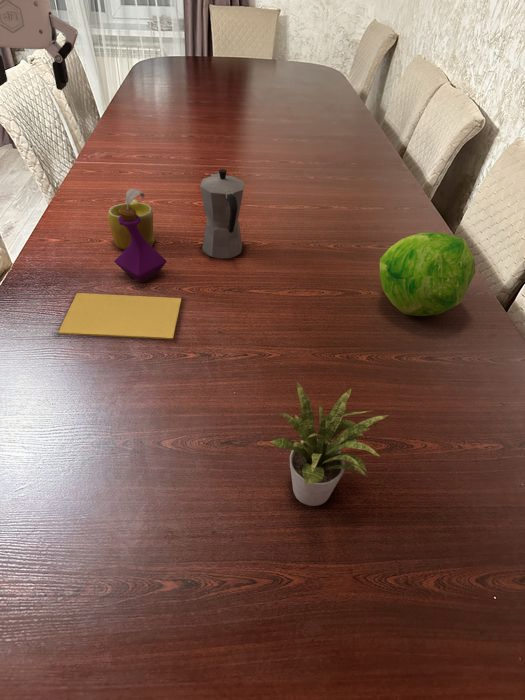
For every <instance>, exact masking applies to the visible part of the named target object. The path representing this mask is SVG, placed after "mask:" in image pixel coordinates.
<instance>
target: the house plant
mask: <svg viewBox="0 0 525 700" xmlns="http://www.w3.org/2000/svg"><path fill="white" fill-rule="evenodd" d="M295 384H296V390H297V396H298V403H299V407H300V414H301V415H300V416H301V417H300V416H298V415H296V414H295V415H294V417H292V416H291V415H289V414H288V413H285V412H282V411H278V413H279V414H280V415H281V416H282V417H283V418H285V419H286V421H287V422H288V424H289V425H290V426H291V427H292V428H293V429H294V430H295V431H296V432H297V434H298V436H299V438H300V441H294V440H291V439H289V438H286V437H278V438H275V439H273V440H270V441H269V443H271V445H273V446H275V447H277V448H278V449H279V448H280V449H284V450H289V451H290V454H289V468H290V475H291V484H292V490H293V495H294V496H295V498H296V500H298V501H299V502H300V503H302V504H304V505H306V506H311V507H316V506H321V505H323V504H324V503H326V502H327V501H328V500H329V498H330V496H331V495H332V493H333V491H334V489H335V488H336V486H337V484H338V483H339V482H340V479H341V478H342V476H343V474H344V472H345V470H349V471H354V472H358V473H359V474H361V475H363V476H365V477H367V478H369V476H368V474H367V473H368V470H367V467H366V464H365V462H364V461H363V459H362V458H360V457H359V456H356V455H354V454H350V453H342V452H341V450H343V449H346V448H347V449H348V448H349V449H351V448H352V449H356V450H362V451H367V452H369V453H371V454H372V455H374V456H376V457H377V456H378V457H380V458H382V456H381V455H380V454H379V453H378V452H377V451H376V450H374V449H373V448H372V447H370V446H369V445H368V444H366V443H363V442H360V441H358V440H359V439H360V438H361V437H362V436H364V433H363V432H367V431H369V430H371V429H372V428H371V427H372V426H373V427H374V426H376V425H378V424H379V422H378V421H381V420H383V419H386V418H387V417H388V416H390V414H385V415H384V414H383V415H377V416H376V415H375V416H373V417H372V416H371V417H369V418H367V419H364V420H362V421H360V422H358V423H356V422H354V421H352V420H351V419H343V418H344V417H347V416H353V415H354V416H355V415H358V414H359V415H360V414H364V413H369V412H373V411H374V410H365V411H352V412H347V413H346V411H347V403H348V400H349V398H350V396H351V393H352V389H353V387H351V388H349V389H347V390H346V391H345V392H344V393H342V395H341V396H339V398H338V400H337V401H336V402H335V404H334V406H333V407H332V409H331V410H330V412H329V413H328V414H327V416H325V413H324V409H323V406H322V403H321V401H320V400H319V402H318V430H317V431H318V433H317V432H316V429H315V420H314V419H315V418H314V413H313V406H312V401H311V400H310V398H309V397H308V396H307V394H306V392H305V390H304V388H303V387H302V385H301V384H300V383H299V382H298V380H295ZM377 422H378V423H377ZM336 436H337V437H336ZM346 462H347V463H346Z"/></svg>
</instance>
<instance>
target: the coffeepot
mask: <svg viewBox="0 0 525 700" xmlns="http://www.w3.org/2000/svg"><path fill="white" fill-rule="evenodd" d="M227 172H228V171H227V169H225V168H224V169H223V168H220V169H219V170H218V172H215V173H213V172H211V173H210V176H208V177H204V178H202V180H201V183H200V185H199V186H200V187H199V188H200V193H201V200H202V204H203V211H204V216H206V222H205V229H204V235H203V240H202V248H201V250H202V252H203V253H204V254H206V256H209V257H211V258H214V259H219V260H220V259H221V260H227V259H228V260H229V259H232V258H235V257H237V256H238V255H240V254H242V249H243V241H242V240H243V239H242V234H241V233H242V232H241V225H240V221H239V217H240V211H241V205H242V201H243V200H242V199H243V195H244V190H245V184H246V181H243V180H242V179H240V178H238V177H236V176H235V175H227Z"/></svg>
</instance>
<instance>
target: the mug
mask: <svg viewBox="0 0 525 700" xmlns="http://www.w3.org/2000/svg"><path fill="white" fill-rule="evenodd" d="M123 207H127V202H124V203H119V204H115V205H113V206H111V207H110V208H109V209H108V211H107V217H108V218H107V219H108V222H109V228H110V231H111V235H112V238H113V243H114V244H115V246H116V247H117V248H118V249H119V250H123V251H125V250H126V248H127V247H128V246H129V244H130V241H131V236H130V233H129V231H128V229H127V228H126V227H125V226H123V225H120V223H119V221H118V219H119V217H120V216H121V214H120V211H119V210H120V209H121V208H123ZM128 207H131V208H133V209H134V210H135V211H136V215H138V216H139V217H140V219H141V221H140V223H139V224H137V226H138V229H139V231H140V233H141V235H142V236H143V238H144V239H145V240H146V242H147V243H148V244H150V245H151V246H152V247H153V245H154V243H155V232H154V213H153V209H152V207H151V205H150V204H148V203H146V202H145V203H144V202H139V201H138V200H137V199H134V200H133V201H132V202H131V203H129V204H128Z"/></svg>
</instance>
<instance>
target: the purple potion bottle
mask: <svg viewBox="0 0 525 700" xmlns="http://www.w3.org/2000/svg"><path fill="white" fill-rule="evenodd" d="M138 196H140V197H141V199H142V200H144V198H145V194H144V193H143V191H141V190H139V189H136V188H129V189H128V190H127V191H126V194H125V201H126V203H127V207H123V208H121V209H120V210H119V211H120V214H121V216H120V217H119V219H118V221H119V223H120V225H123V226H125V227H126V228H127V229H128V231H129V233H130V236H131V241H130V244H129V246H128V247H127V248H126V250H123V251H122V253H120V255H118V257H116V259H114V261H113V262H114V263H115V264H116V266H118V267H119V268H120V269H121V270H122V271H123V272H124V273H125V274H126V275H127V276H129V277H130V278H132V279H134V280H135V281H137V282H138V283H143V282H145V281H147V280H149V279H151V278H154V277H155V276H157V275H158V274H159V272H161V270H162V268H163V267H164V266H165V265H166V264H167V262H168V260H167V259H166V258H164V256H162V254H160V253H159V252H158V251H157V250H156V249H155V248H154V247H153V245H152V246H151V245H150V244H148V243H147V242H146V240H145V239H144V238H143V236H142V235H141V233H140V231H139V229H138V226H137V224H139V223H140V221H141V219H140V217H139V216H138V215H136V211H135V210H134V209H133V208H131V207H128V204H129V203H131V202H132V201H133V200H136V198H137V197H138Z"/></svg>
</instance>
